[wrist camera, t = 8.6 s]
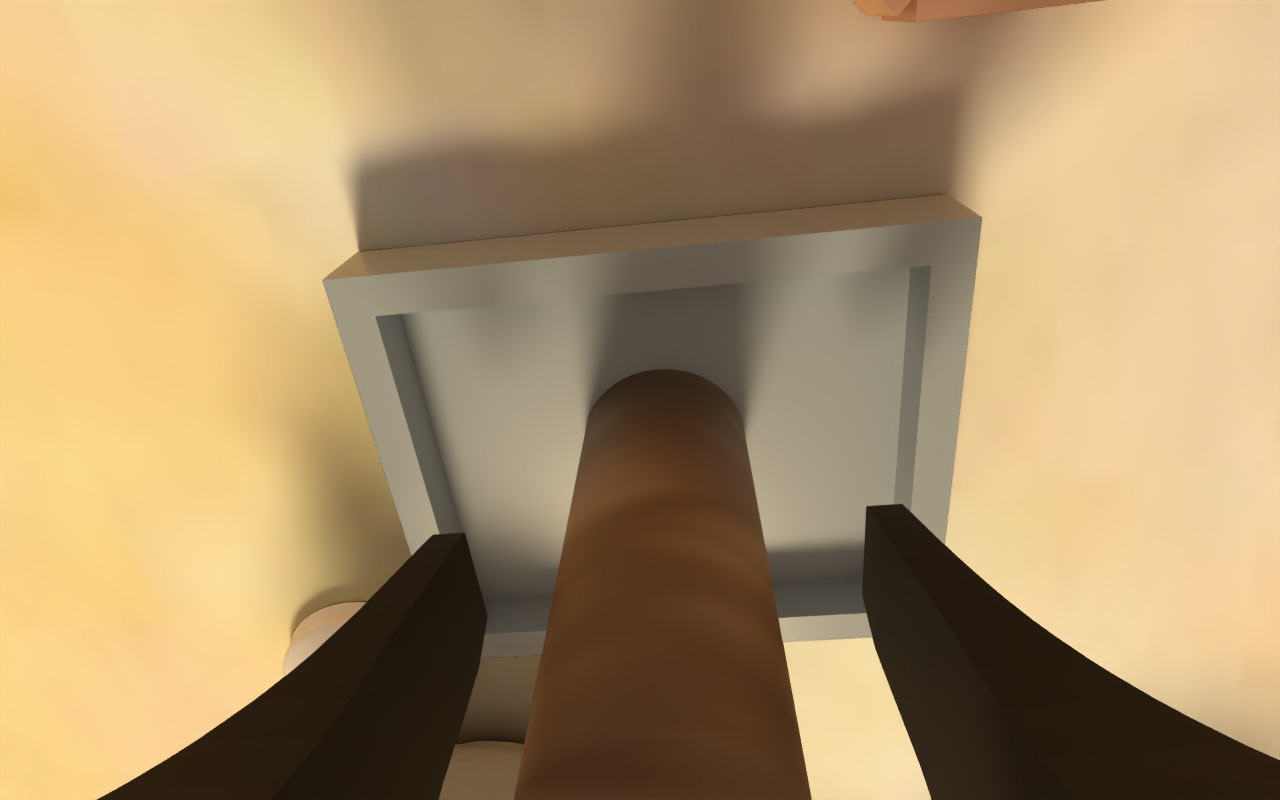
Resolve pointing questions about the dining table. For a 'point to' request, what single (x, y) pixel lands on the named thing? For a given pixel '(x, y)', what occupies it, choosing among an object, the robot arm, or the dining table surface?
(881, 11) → the ring holder
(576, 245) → the tray
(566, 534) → the dowel
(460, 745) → the teacup
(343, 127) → the dining table surface
